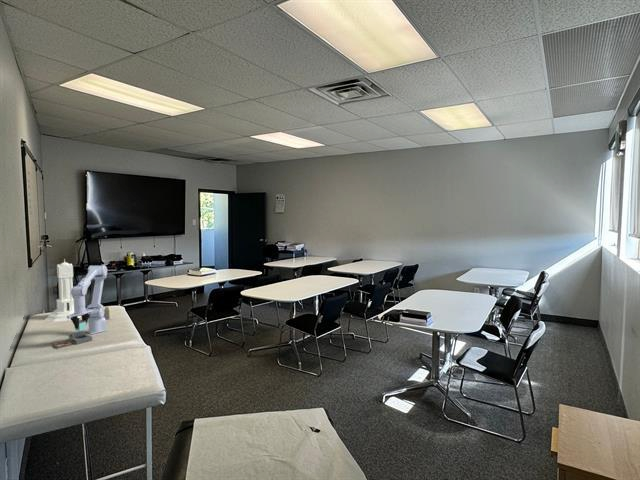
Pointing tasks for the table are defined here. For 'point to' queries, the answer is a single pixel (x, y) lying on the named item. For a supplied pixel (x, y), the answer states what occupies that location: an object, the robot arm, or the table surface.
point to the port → (79, 337)
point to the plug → (81, 325)
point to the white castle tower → (63, 294)
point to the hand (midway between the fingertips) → (80, 327)
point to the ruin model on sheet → (106, 313)
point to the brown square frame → (62, 345)
